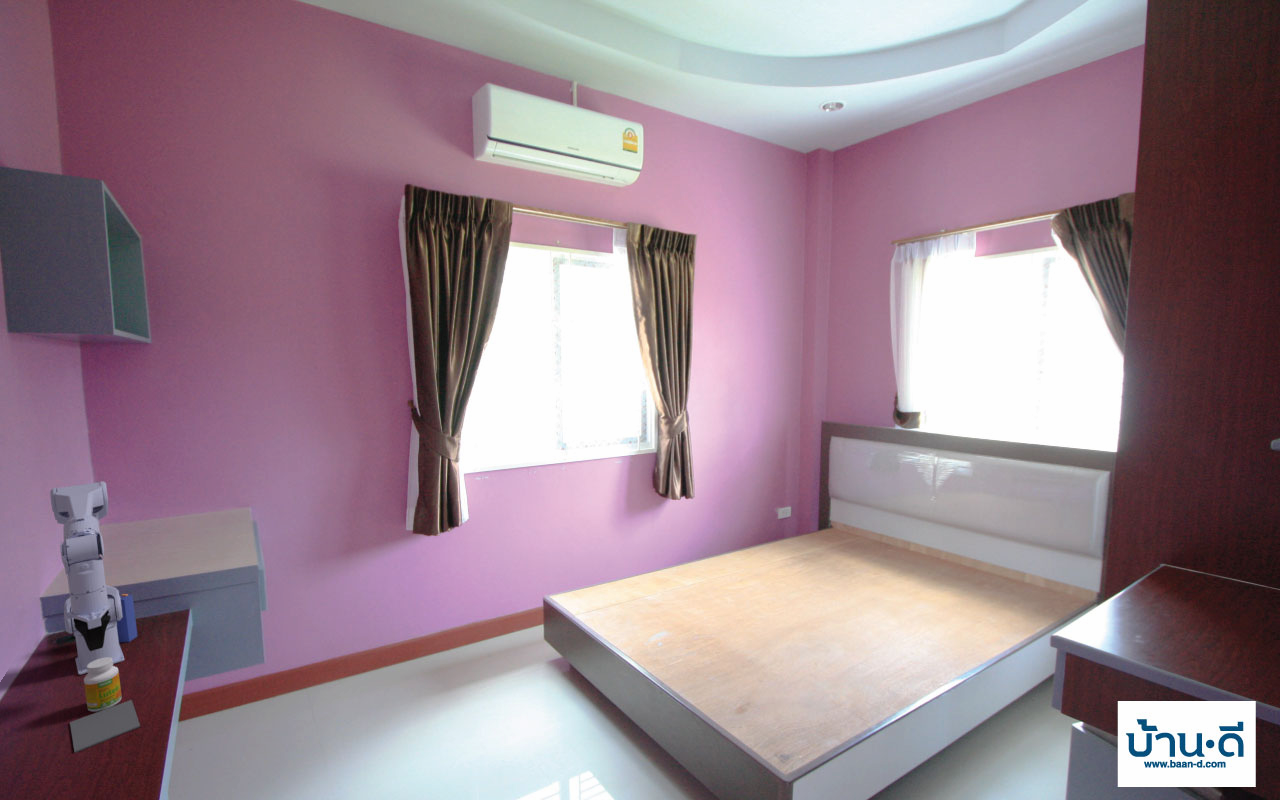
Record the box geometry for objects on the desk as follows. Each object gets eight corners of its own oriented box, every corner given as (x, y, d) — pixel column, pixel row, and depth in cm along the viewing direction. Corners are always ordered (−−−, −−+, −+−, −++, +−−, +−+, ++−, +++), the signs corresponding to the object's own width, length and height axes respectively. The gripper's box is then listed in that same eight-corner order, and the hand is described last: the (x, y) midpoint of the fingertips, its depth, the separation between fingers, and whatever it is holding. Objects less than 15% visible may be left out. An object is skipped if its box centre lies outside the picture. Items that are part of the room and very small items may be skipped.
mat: (70, 723, 115) (69, 722, 115) (131, 701, 122) (131, 699, 122) (74, 752, 107) (74, 751, 107) (140, 726, 114) (140, 725, 114)
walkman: (137, 636, 148) (132, 593, 146) (129, 642, 145) (123, 598, 144) (105, 637, 147) (99, 594, 146) (96, 643, 144) (90, 599, 143)
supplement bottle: (100, 714, 118) (95, 671, 117) (80, 710, 119) (74, 668, 118) (128, 697, 123) (123, 656, 122) (109, 694, 124) (103, 653, 123)
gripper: (60, 585, 125) (67, 642, 126) (64, 606, 115) (72, 668, 117) (103, 575, 130) (110, 630, 131) (111, 594, 120) (118, 653, 122)
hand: (95, 647), depth 124 cm, fingers closed
